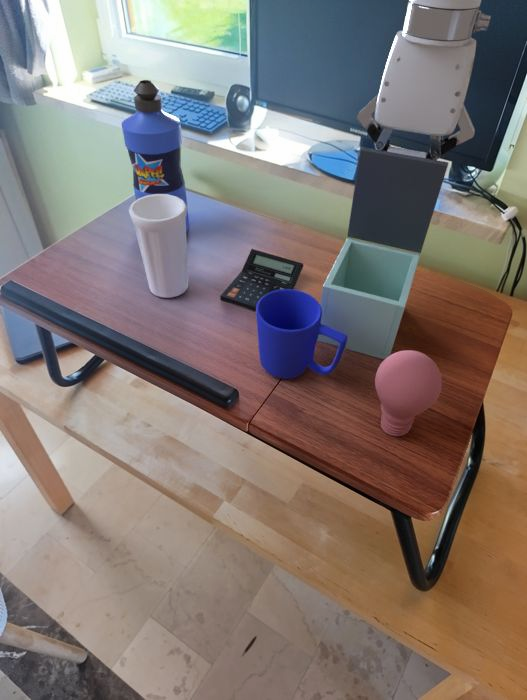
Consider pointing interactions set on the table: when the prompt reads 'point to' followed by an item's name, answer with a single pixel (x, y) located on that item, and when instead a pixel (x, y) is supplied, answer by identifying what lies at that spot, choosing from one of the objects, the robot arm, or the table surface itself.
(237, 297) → the calculator
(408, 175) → the lid
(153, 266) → the cup
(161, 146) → the blue bottle
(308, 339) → the mug
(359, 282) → the mint green open box
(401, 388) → the light bulb
